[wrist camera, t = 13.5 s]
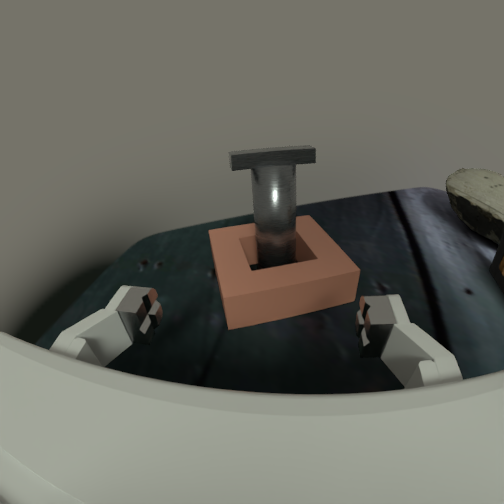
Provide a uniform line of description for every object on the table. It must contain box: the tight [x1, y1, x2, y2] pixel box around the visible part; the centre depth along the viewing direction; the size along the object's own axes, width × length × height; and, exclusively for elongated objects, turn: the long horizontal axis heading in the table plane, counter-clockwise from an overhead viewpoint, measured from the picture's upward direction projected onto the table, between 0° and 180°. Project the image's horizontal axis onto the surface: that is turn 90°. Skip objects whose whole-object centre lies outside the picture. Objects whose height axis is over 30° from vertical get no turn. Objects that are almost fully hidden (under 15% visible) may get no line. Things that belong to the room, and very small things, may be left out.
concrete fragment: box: [446, 168, 504, 244], centre depth 28 cm, size 15×10×15 cm
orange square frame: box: [209, 215, 360, 330], centre depth 24 cm, size 10×10×3 cm
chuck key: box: [229, 145, 316, 270], centre depth 22 cm, size 6×3×11 cm, turn 101°
